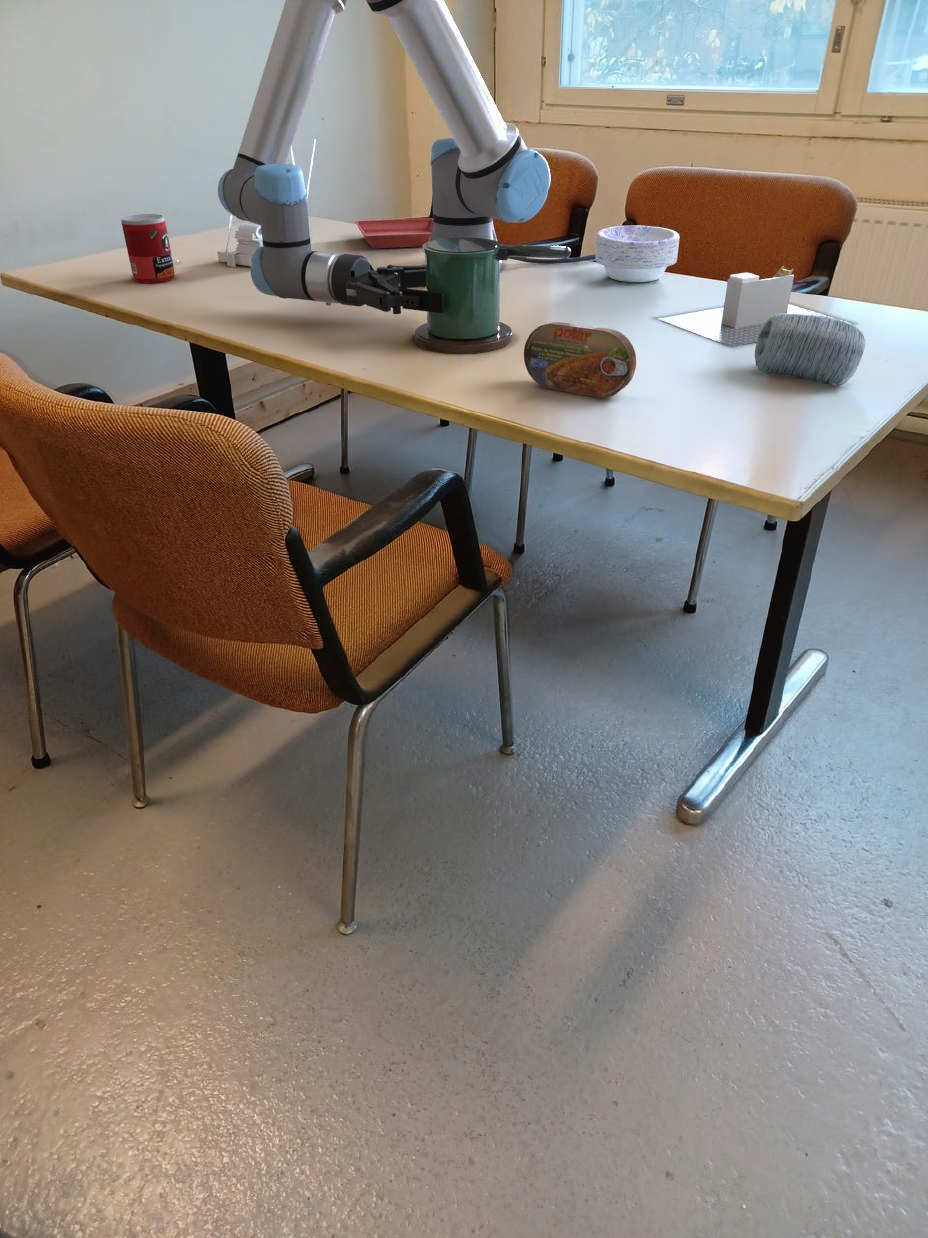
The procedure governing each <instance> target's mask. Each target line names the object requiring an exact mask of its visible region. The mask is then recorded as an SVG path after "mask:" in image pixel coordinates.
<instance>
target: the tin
mask: <svg viewBox="0 0 928 1238" xmlns="http://www.w3.org/2000/svg"><path fill="white" fill-rule="evenodd" d="M523 362H524V365H525V368H526V371H527V373H528V375H529V377H531V379H532V380H533V381H534V382H535V383H536V384H537V385H539V386H541V387H542V388H545V389H547V390H551V391H557V392H565V393H571V394H576V395H581V396H586V397H591V398H592V397H593V398H597V399H607V398H611V397H613V396H615V395H617V394H618V393H620V392H621V391H622V390H623V389H625V388H626V387H627V386H628V385H629V384H630V383H631V381H632V380H633V378H634V375H635V373H636V368H637V355H636V350H635V347H634V345H633V344H632V342H631V340H629V338H628V337H627V336H626V335H624V333H622V332H621V331H619V330H616V329H613V328H609V327H608V328H607V327H598V326H591V325H584V324H578V323H577V324H576V323H569V322H563V321H554V322H548V323H544V324H541V325H539V326H538V327H536V328H535V329H533V331H531V332H530V334H529V335H528V337H527V339H526V341H525V344H524V348H523Z"/></svg>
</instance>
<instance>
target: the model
mask: <svg viewBox="0 0 928 1238" xmlns="http://www.w3.org/2000/svg"><path fill="white" fill-rule="evenodd" d="M794 271H795V270H794V268H791V269H790V270H789V269H786V268H785V266H784V265H782V266H781V267H780V268H779V269H778V271H777V272H776V273H775V274H774V275H773V276H772V277H769V278H764V279H760V275H756V274H753V273H750V272H740V273H734V274H730V275H729V278H727V282H726V290H725V296H724V303H723V307H722V308H723V309H722V316H721V322H720V323H721V324H724V325H727V326H729V327H732V328H735V329H736V328H741V327H747V326H752V325H758V324H764V323H766V321H767V320H768V319H769V318H770V317H771V316H773V315H775V314H779V313H783V314H788V311H789V305H791V304H790V299H791V293H792V289H793V283H794V278H795V275H794V274H792V272H794Z"/></svg>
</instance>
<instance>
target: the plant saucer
mask: <svg viewBox="0 0 928 1238" xmlns="http://www.w3.org/2000/svg"><path fill="white" fill-rule="evenodd" d="M355 224H356V226H357V227H358V229H359V231H360V232H361V234H362V236H363V237H364V238H365V240H366V242H367V243H368V244H369V246H370V247H371V248H372V249H391V248H395V249H396V248H417V247H418V248H420V247H423V245H424V244H425V243H427V242H428V241H429V237H431V233H432V229H433V217H432V218H431V217H426V218H425V217H423V218H400V219H399V218H398V219H395V218H394V219H372V220H370V219H369V220H356V221H355Z"/></svg>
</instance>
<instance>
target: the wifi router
mask: <svg viewBox="0 0 928 1238" xmlns="http://www.w3.org/2000/svg"><path fill="white" fill-rule="evenodd" d="M316 144H317V139H316V138H314V141H313V146H312V154H311V161H310V166H309V173H308V174H309V175H308V180H307V186H306V191H307V199H308V198H309V192H310V191H309V190H310V184H311V177H312V170H313V165H314V159H315V158H314V157H315V152H316ZM289 152H290V156H291V162H292V164H294V165H296V161H295V155H294V150H293V144H292V145H291V148H290V151H289ZM229 214H230V215H229V222H228V232H227V240H226V241H227V242H226V249H220V250H218V251H217V252H216V253H217V257H218V262H223V263H226V265H227V267H233V268H236V267H237V266H236V265H240V266H246V267H252V257H253V254H254V253H255V251H256V250H257V249H258V248H260V247H263V239H262V232H261V225H258V224H255V223H252V222H249V221H248V223H246V222H242V223H240V224H239V225H238V228H237V230H235V234H234V239H236V242H237V244H236V248H235V250H234V251H232V250H229V242H230V238H231V229H232V224H233V217H234V215H232V214H231V213H229ZM177 262H179V260H178V259H177Z"/></svg>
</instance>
